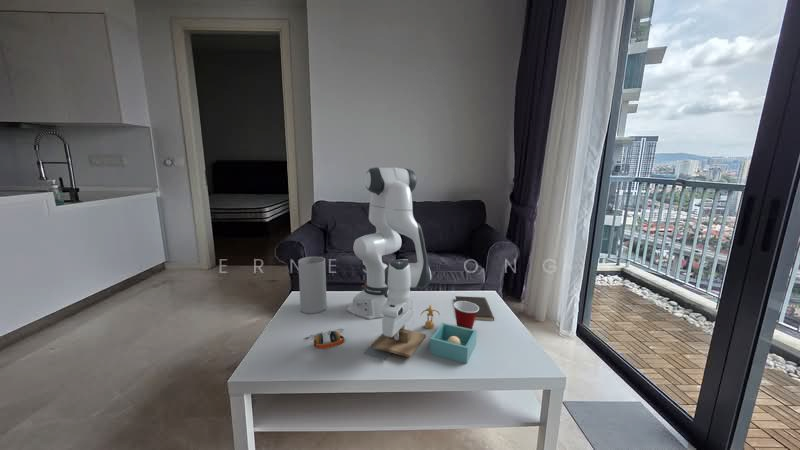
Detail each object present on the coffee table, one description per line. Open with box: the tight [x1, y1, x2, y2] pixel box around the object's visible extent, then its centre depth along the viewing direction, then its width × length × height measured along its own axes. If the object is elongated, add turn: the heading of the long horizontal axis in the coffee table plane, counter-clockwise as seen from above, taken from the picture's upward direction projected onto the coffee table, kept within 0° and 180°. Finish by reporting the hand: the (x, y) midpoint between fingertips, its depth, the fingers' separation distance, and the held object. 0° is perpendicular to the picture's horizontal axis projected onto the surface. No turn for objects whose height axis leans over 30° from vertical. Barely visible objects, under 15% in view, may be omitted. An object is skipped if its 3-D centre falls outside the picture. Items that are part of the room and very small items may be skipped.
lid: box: [370, 329, 427, 358], centre depth 125 cm, size 16×16×5 cm
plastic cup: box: [453, 301, 479, 330], centre depth 138 cm, size 11×11×12 cm
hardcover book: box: [454, 295, 495, 321], centre depth 162 cm, size 16×23×2 cm
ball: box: [447, 336, 461, 345], centre depth 124 cm, size 5×5×5 cm
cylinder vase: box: [297, 256, 328, 315], centre depth 158 cm, size 12×12×25 cm
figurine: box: [420, 304, 441, 330], centre depth 139 cm, size 8×6×12 cm
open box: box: [429, 322, 478, 365], centre depth 124 cm, size 14×14×7 cm
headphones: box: [303, 328, 346, 349], centre depth 129 cm, size 17×5×20 cm
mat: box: [363, 345, 392, 361], centre depth 126 cm, size 20×18×1 cm
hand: (399, 336), depth 125 cm, fingers closed on lid, 2 cm apart
